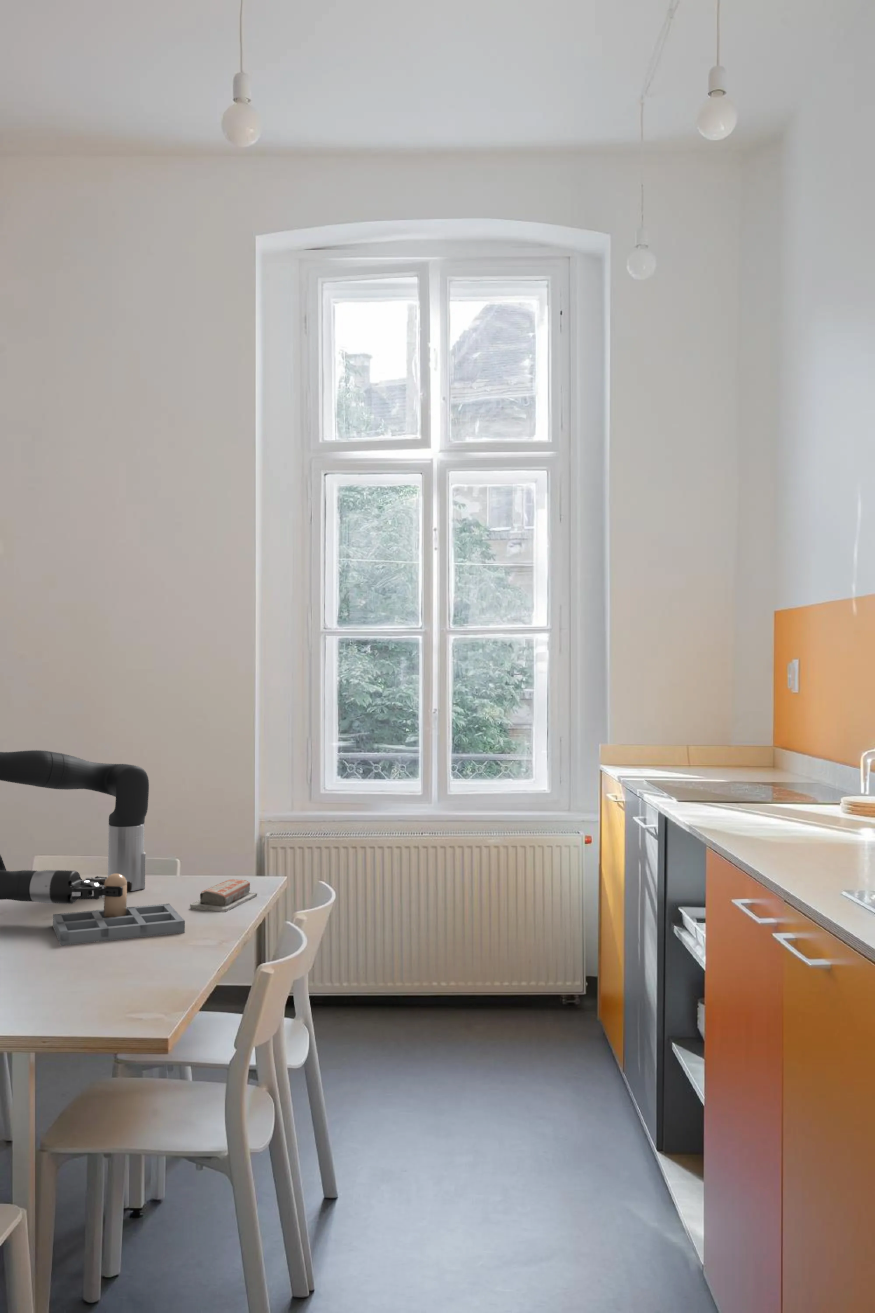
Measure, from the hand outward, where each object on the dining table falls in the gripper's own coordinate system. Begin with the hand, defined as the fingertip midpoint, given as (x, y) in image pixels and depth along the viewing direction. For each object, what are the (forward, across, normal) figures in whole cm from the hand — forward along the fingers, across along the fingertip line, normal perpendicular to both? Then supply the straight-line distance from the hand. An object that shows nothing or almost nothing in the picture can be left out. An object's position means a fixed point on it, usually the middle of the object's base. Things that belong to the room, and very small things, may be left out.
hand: (126, 889), depth 226 cm
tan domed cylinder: (-3, 0, +6) cm, 7 cm away
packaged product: (+16, +25, +9) cm, 31 cm away
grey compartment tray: (0, -4, +8) cm, 9 cm away
